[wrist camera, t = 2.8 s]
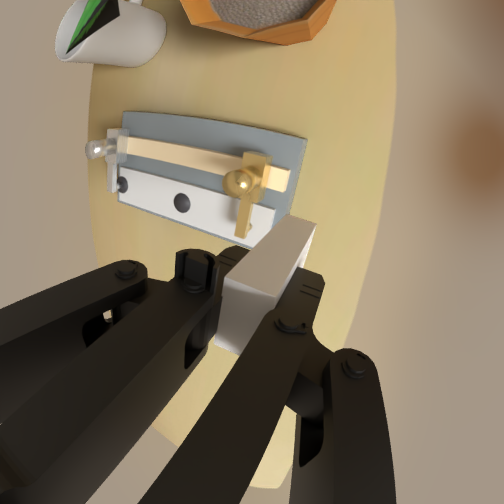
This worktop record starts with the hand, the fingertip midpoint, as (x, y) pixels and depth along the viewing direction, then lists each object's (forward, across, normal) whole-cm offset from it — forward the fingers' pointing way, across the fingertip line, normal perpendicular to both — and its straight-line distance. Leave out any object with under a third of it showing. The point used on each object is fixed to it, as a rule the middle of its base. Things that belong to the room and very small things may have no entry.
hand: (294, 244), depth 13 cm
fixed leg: (+11, -24, -1) cm, 26 cm away
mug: (+14, -26, +16) cm, 34 cm away
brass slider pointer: (+11, -6, -1) cm, 13 cm away
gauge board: (+14, -14, -2) cm, 20 cm away
